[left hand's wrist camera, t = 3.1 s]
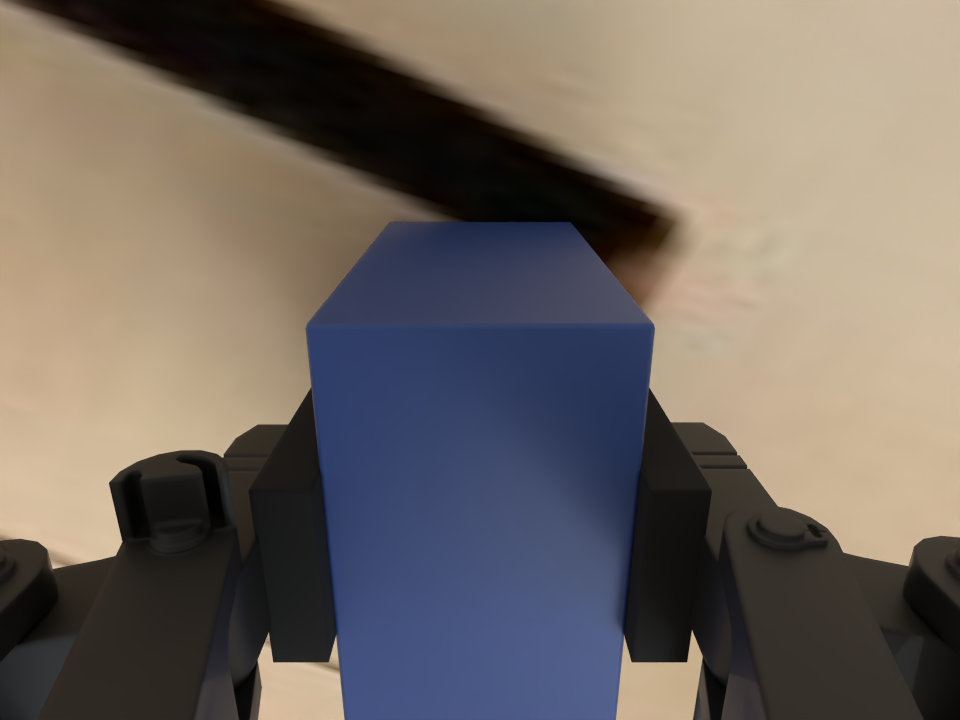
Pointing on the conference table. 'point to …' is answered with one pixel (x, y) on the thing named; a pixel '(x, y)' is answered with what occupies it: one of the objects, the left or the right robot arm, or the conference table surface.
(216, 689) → the left robot arm
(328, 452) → the brick
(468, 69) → the conference table surface
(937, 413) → the conference table surface
